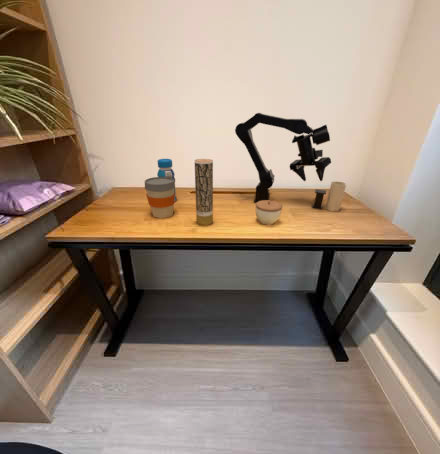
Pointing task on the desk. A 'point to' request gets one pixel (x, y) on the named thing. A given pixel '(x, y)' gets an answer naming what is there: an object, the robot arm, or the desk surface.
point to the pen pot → (335, 196)
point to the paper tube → (204, 191)
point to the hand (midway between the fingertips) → (313, 180)
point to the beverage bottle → (166, 170)
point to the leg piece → (319, 198)
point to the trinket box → (268, 211)
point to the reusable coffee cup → (160, 196)
